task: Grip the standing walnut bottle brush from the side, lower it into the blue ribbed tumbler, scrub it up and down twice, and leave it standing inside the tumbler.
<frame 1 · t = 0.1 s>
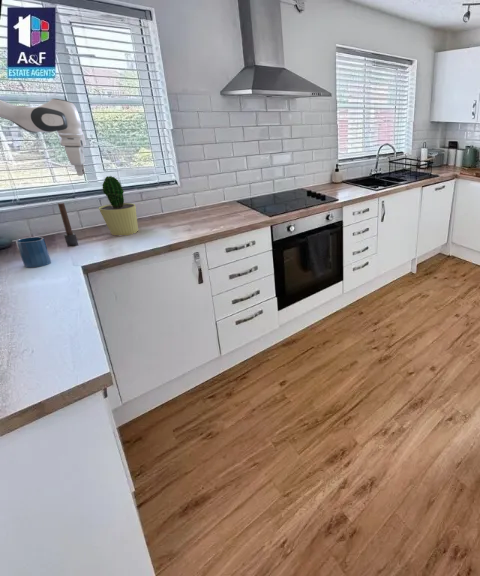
hand: (81, 174, 164), 32 cm above the countertop, tool pointing down, fingers open, 8 cm apart
brush: (73, 247, 169), on the countertop
potted cactus: (125, 235, 191), on the countertop
blue ribbed tumbler: (38, 264, 146), on the countertop
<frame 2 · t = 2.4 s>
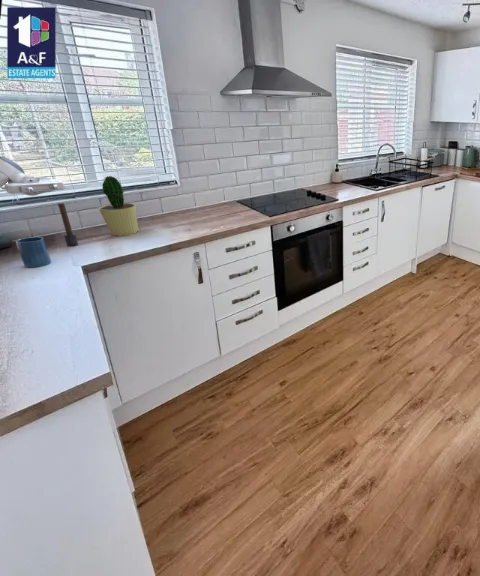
hand: (43, 188, 164), 25 cm above the countertop, tool horizontal, fingers open, 8 cm apart
nothing on the countertop moved.
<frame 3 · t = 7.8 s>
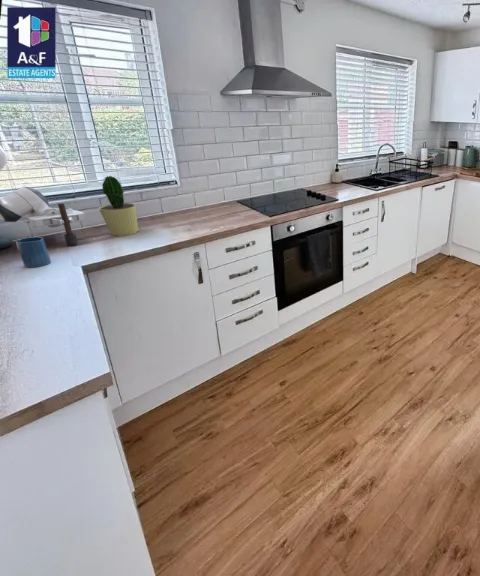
hand: (67, 221, 164), 12 cm above the countertop, tool horizontal, fingers closed on brush, 2 cm apart
brush: (73, 247, 169), on the countertop, touching gripper
everything else where it was.
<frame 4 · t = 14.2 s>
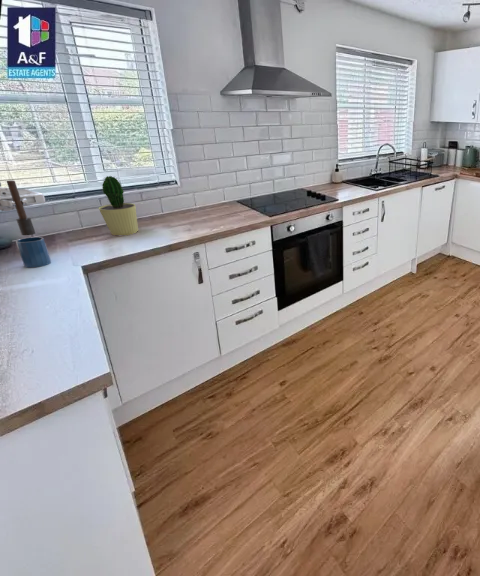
hand: (19, 203, 137), 24 cm above the countertop, tool horizontal, fingers closed on brush, 2 cm apart
brush: (28, 234, 142), point 12 cm above the countertop, touching gripper
everything else where it was.
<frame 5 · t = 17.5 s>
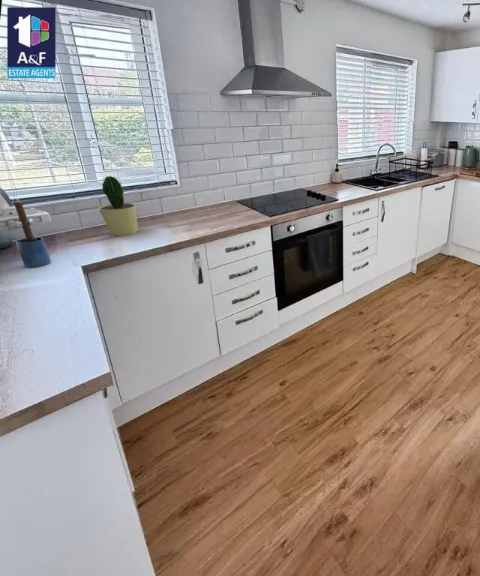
hand: (25, 223, 140), 16 cm above the countertop, tool horizontal, fingers closed on brush, 2 cm apart
brush: (35, 253, 145), point 4 cm above the countertop, touching gripper
everything else where it was.
when the fingers open (13 cm above the countertop, at t = 20.8 s): brush stays where it is, resting on blue ribbed tumbler.
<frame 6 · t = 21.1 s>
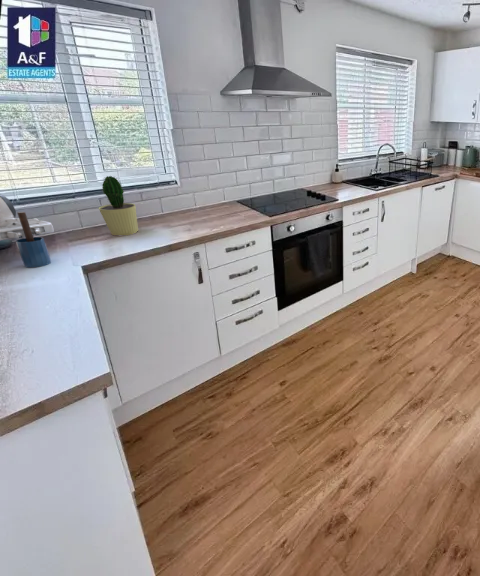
hand: (29, 234, 141), 12 cm above the countertop, tool horizontal, fingers open, 4 cm apart
brush: (37, 262, 146), point 1 cm above the countertop, touching blue ribbed tumbler
everything else where it was.
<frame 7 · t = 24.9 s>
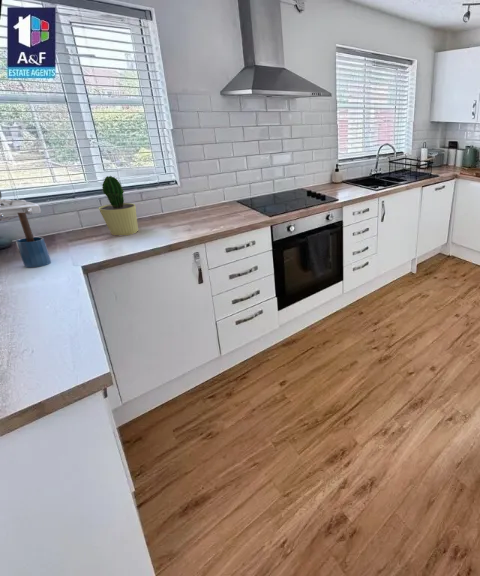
hand: (16, 213, 147), 18 cm above the countertop, tool horizontal, fingers open, 8 cm apart
nothing on the countertop moved.
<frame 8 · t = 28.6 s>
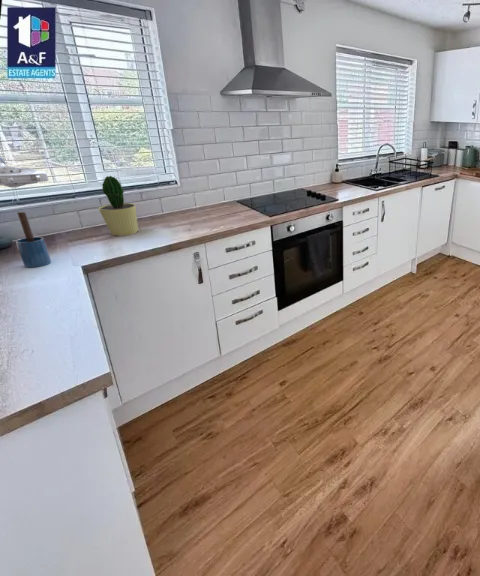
hand: (25, 179, 154), 30 cm above the countertop, tool horizontal, fingers open, 8 cm apart
nothing on the countertop moved.
at the end: brush 0.1 cm off-centre in the blue ribbed tumbler, point 0.6 cm above the blue ribbed tumbler's base; brush tilted 0°; the gripper is holding nothing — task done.
